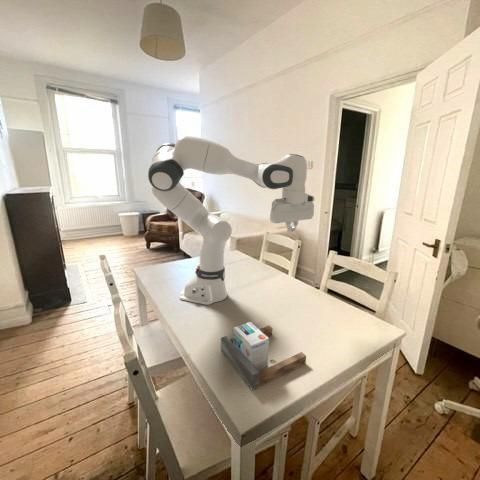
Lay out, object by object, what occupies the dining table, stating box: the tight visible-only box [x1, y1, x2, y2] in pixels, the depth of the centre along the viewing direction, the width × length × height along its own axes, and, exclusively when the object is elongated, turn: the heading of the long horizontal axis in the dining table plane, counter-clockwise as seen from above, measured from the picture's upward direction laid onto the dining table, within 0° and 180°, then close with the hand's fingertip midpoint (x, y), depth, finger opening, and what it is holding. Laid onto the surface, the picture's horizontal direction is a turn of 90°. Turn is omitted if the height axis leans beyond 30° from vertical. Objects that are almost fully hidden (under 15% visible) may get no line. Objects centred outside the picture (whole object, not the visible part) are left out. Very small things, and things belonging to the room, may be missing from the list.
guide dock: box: [220, 325, 307, 391], centre depth 86 cm, size 20×19×5 cm
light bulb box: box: [232, 321, 270, 372], centre depth 83 cm, size 11×7×11 cm, turn 31°
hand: (291, 231), depth 109 cm, fingers closed
